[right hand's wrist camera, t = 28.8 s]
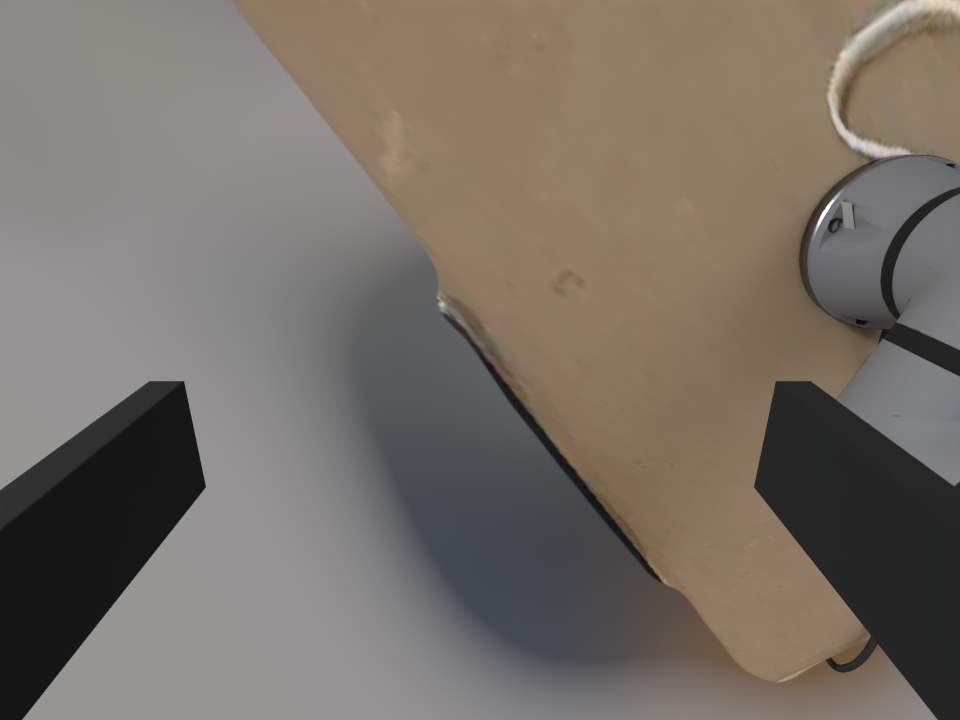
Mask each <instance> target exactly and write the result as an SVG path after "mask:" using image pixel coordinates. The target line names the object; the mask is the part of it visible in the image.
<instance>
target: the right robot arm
mask: <svg viewBox="0 0 960 720" xmlns="http://www.w3.org/2000/svg"><path fill="white" fill-rule="evenodd" d="M799 263H800V273H801V277H802V281H803V284H804V287H805V289H806V291H807V293H808V295H809V296H810V297H811V299H812V300H813V302H814V303H815V304H816V305H817V306H818V307H819V308H821V309H822V310H823V311H824V312H826V313H827V314H829V315H831V316H833V317H835V318H837V319H839V320H841V321H843V322H845V323H847V324H850V325H852V326H856V327H860V328H867V329H883V330H882V333H881V336H880V340H879V343H878V346H877V347H876V348H875V350H874V351H873V352H872V354H871V355H870V356H869V357H868V359H867V360H866V361H865V363H864V364H863V365H862V367H861V368H860V369H859V371H858V372H857V373H856V374H855V376H854V377H853V378H852V380H851V381H850V382H849V384H848V385H847V386H846V387H845V389H844V390H843V391H842V393H841V394H840V395H839V397H838V398H837V399H836V400H835V399H834V398H833V397H831V396H830V395H829V394H827V393H826V392H824V391H823V390H822V389H820V388H819V387H818V386H816V385H815V384H813V383H812V382H811V381H776V384H775V389H774V394H773V398H772V403H771V408H770V413H769V418H768V423H767V427H766V432H765V437H764V442H763V447H762V451H761V456H760V461H759V466H758V471H757V476H756V480H755V485H754V488H755V489H756V490H757V491H758V493H759V494H760V495H761V496H762V498H763V499H764V500H765V502H766V503H767V504H768V505H769V507H770V508H771V509H772V510H773V512H774V513H775V514H776V515H777V517H778V518H779V519H780V521H781V522H782V523H783V524H784V526H785V527H786V528H787V529H788V531H789V532H790V533H791V534H792V536H793V537H794V538H795V540H796V541H797V542H798V543H799V545H800V546H801V547H802V548H803V550H804V551H805V552H806V553H807V555H808V556H809V557H810V558H811V560H812V561H813V562H814V564H815V565H816V566H817V567H818V569H819V570H820V571H821V572H822V574H823V575H824V576H825V577H826V579H827V580H828V581H829V583H830V584H831V585H832V586H833V588H834V589H835V590H836V591H837V593H838V594H839V595H840V596H841V598H842V599H843V600H844V602H845V603H846V604H847V605H848V607H849V608H850V609H851V610H852V612H853V613H854V614H855V615H856V617H857V618H858V619H859V621H860V622H861V623H862V624H863V626H864V627H865V628H866V629H867V631H868V632H869V633H870V634H871V637H870V639H869V641H868V643H867V645H866V646H865V648H864V649H863V651H862V652H861V653H860V654H859V655H858V656H857V657H856V658H855V659H854V660H853V661H851V662H849V663H847V664H843V665H839V664H837V663H836V662H835V661H834V660H833V659H832V658H831V657H830V658H828V659H826V662H827V663H828V664H829V666H830V667H831V668H832V669H834V670H835V671H838V672H849V671H852V670H854V669H856V668H858V667H859V666H861V665H862V664H863V663H864V662H865V661H866V660H867V659H868V658H869V656H870V655H871V654H872V652H873V651H874V649H875V647H876V646H877V644H878V645H879V646H880V647H881V648H882V650H883V651H884V652H885V653H886V655H887V656H888V657H889V658H890V660H891V661H892V662H893V664H894V665H895V666H896V667H897V669H898V670H899V671H900V672H901V674H902V675H903V676H904V677H905V679H906V680H907V681H908V682H909V684H910V685H911V686H912V688H913V689H914V690H915V691H916V693H917V694H918V695H919V696H920V698H921V699H922V700H923V702H924V703H925V704H926V705H927V707H928V708H929V709H930V710H931V712H932V713H933V714H934V715H935V717H936V718H937V719H938V720H960V165H959V164H957V163H955V162H953V161H950V160H948V159H945V158H942V157H937V156H931V155H896V156H890V157H885V158H881V159H879V160H876V161H873V162H870V163H868V164H866V165H864V166H862V167H860V168H858V169H856V170H855V171H853V172H852V173H850V174H849V175H847V176H846V177H845V178H843V179H842V180H841V181H839V182H838V183H837V184H836V185H835V186H834V187H833V188H832V189H831V190H830V191H829V192H828V193H827V194H826V195H825V197H824V198H823V199H822V200H821V202H820V203H819V204H818V206H817V207H816V209H815V210H814V212H813V214H812V216H811V218H810V220H809V222H808V224H807V226H806V229H805V232H804V234H803V238H802V242H801V247H800V257H799ZM895 344H896V345H895ZM897 345H898V346H897ZM899 346H900V347H899ZM901 347H902V348H901ZM909 351H910V352H909ZM911 352H912V353H911ZM205 488H206V485H205V480H204V476H203V471H202V466H201V461H200V456H199V451H198V447H197V442H196V437H195V432H194V427H193V423H192V418H191V413H190V408H189V403H188V398H187V394H186V389H185V384H184V381H149V382H148V383H147V384H145V385H144V386H142V387H141V388H140V389H138V390H137V391H136V392H134V393H133V394H131V395H130V396H129V397H127V398H126V399H125V400H123V401H122V402H120V403H119V404H118V405H116V406H115V407H114V408H112V409H111V410H110V411H108V412H107V413H105V414H104V415H103V416H101V417H100V418H99V419H97V420H96V421H94V422H93V423H92V424H90V425H89V426H88V427H86V428H85V429H84V430H82V431H81V432H79V433H78V434H77V435H75V436H74V437H73V438H71V439H70V440H68V441H67V442H66V443H64V444H63V445H62V446H60V447H59V448H57V449H56V450H55V451H53V452H52V453H51V454H49V455H48V456H46V457H45V458H44V459H42V460H41V461H40V462H38V463H37V464H36V465H34V466H33V467H31V468H30V469H29V470H27V471H26V472H25V473H23V474H22V475H21V476H19V477H18V478H16V479H15V480H14V481H12V482H11V483H10V484H8V485H7V486H5V487H4V488H3V489H1V490H0V720H22V719H23V718H24V717H25V715H26V714H27V713H28V712H29V710H30V709H31V708H32V707H33V705H34V704H35V703H36V702H37V700H38V699H39V698H40V696H41V695H42V694H43V693H44V691H45V690H46V689H47V688H48V686H49V685H50V684H51V682H52V681H53V680H54V679H55V677H56V676H57V675H58V674H59V672H60V671H61V670H62V669H63V667H64V666H65V665H66V664H67V662H68V661H69V660H70V658H71V657H72V656H73V655H74V653H75V652H76V651H77V650H78V648H79V647H80V646H81V645H82V643H83V642H84V641H85V640H86V638H87V637H88V636H89V634H90V633H91V632H92V631H93V629H94V628H95V627H96V625H97V624H98V623H99V622H100V621H101V619H102V618H103V617H104V615H105V614H106V613H107V612H108V610H109V609H110V608H111V607H112V605H113V604H114V603H115V602H116V600H117V599H118V598H119V596H120V595H121V594H122V593H123V591H124V590H125V589H126V588H127V586H128V585H129V584H130V582H131V581H132V580H133V579H134V577H135V576H136V575H137V574H138V572H139V571H140V570H141V569H142V567H143V566H144V565H145V564H146V562H147V561H148V560H149V558H150V557H151V556H152V555H153V553H154V552H155V551H156V550H157V548H158V547H159V546H160V544H161V543H162V542H163V541H164V540H165V538H166V537H167V536H168V534H169V533H170V532H171V531H172V529H173V528H174V527H175V526H176V524H177V523H178V522H179V521H180V519H181V518H182V517H183V515H184V514H185V513H186V512H187V510H188V509H189V508H190V507H191V505H192V504H193V503H194V502H195V500H196V499H197V498H198V496H199V495H200V494H201V493H202V491H203V490H204V489H205Z"/></svg>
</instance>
